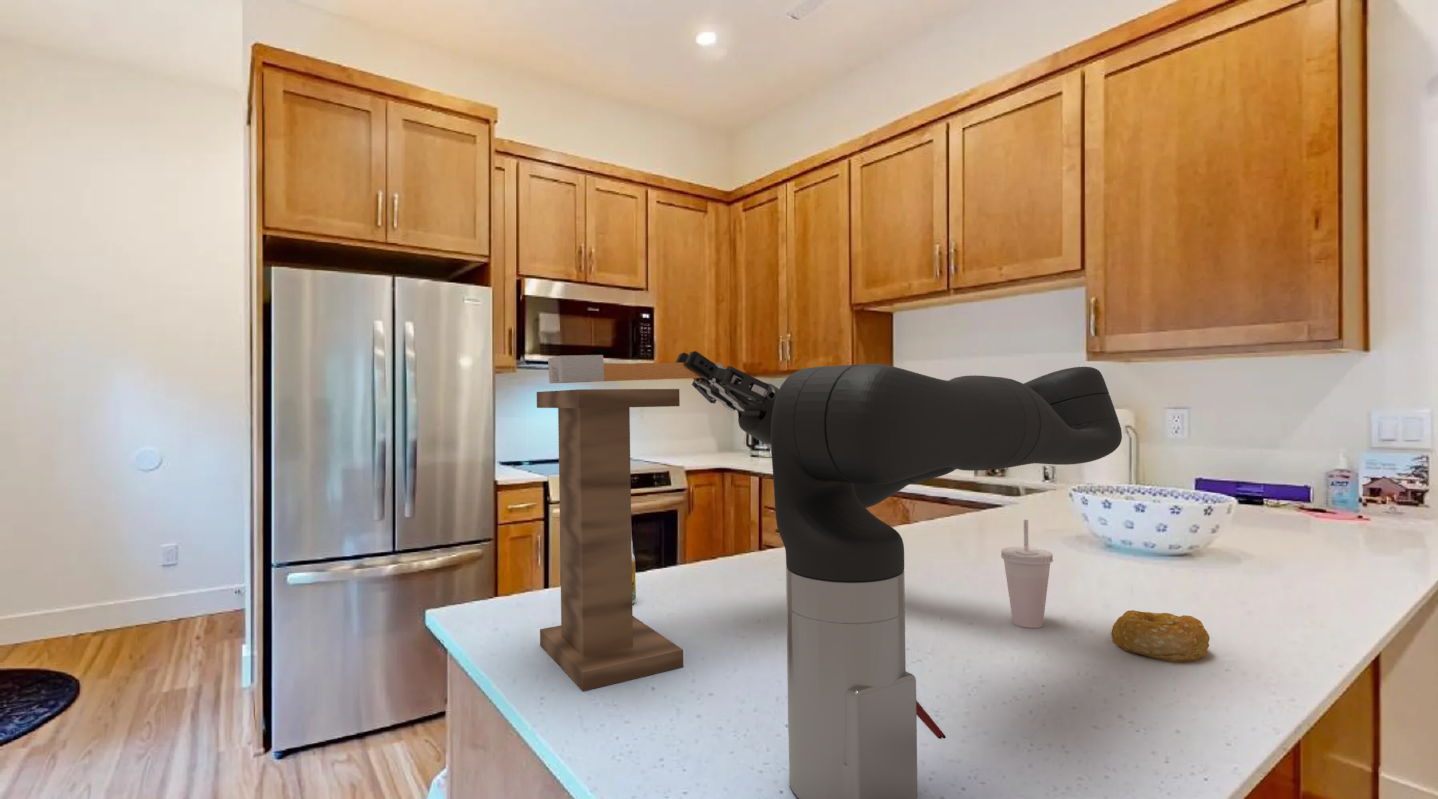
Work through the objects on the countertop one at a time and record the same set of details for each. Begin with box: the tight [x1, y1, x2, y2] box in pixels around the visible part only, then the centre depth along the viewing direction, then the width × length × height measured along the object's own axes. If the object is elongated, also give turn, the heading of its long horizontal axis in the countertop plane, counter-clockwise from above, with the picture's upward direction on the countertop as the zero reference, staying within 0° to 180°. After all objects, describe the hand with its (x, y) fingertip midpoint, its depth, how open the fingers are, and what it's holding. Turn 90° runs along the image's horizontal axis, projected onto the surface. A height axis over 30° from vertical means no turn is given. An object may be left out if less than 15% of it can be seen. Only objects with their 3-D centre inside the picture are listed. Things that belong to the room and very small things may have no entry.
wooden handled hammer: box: [547, 354, 723, 384], centre depth 84 cm, size 5×22×3 cm, turn 121°
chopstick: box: [916, 699, 947, 739], centre depth 73 cm, size 2×24×1 cm, turn 7°
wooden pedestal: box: [536, 388, 684, 692], centre depth 81 cm, size 16×12×32 cm
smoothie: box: [1000, 519, 1054, 629], centre depth 91 cm, size 6×6×14 cm
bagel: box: [1110, 609, 1210, 663], centre depth 82 cm, size 10×11×5 cm
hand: (684, 358), depth 87 cm, fingers closed on wooden handled hammer, 2 cm apart
